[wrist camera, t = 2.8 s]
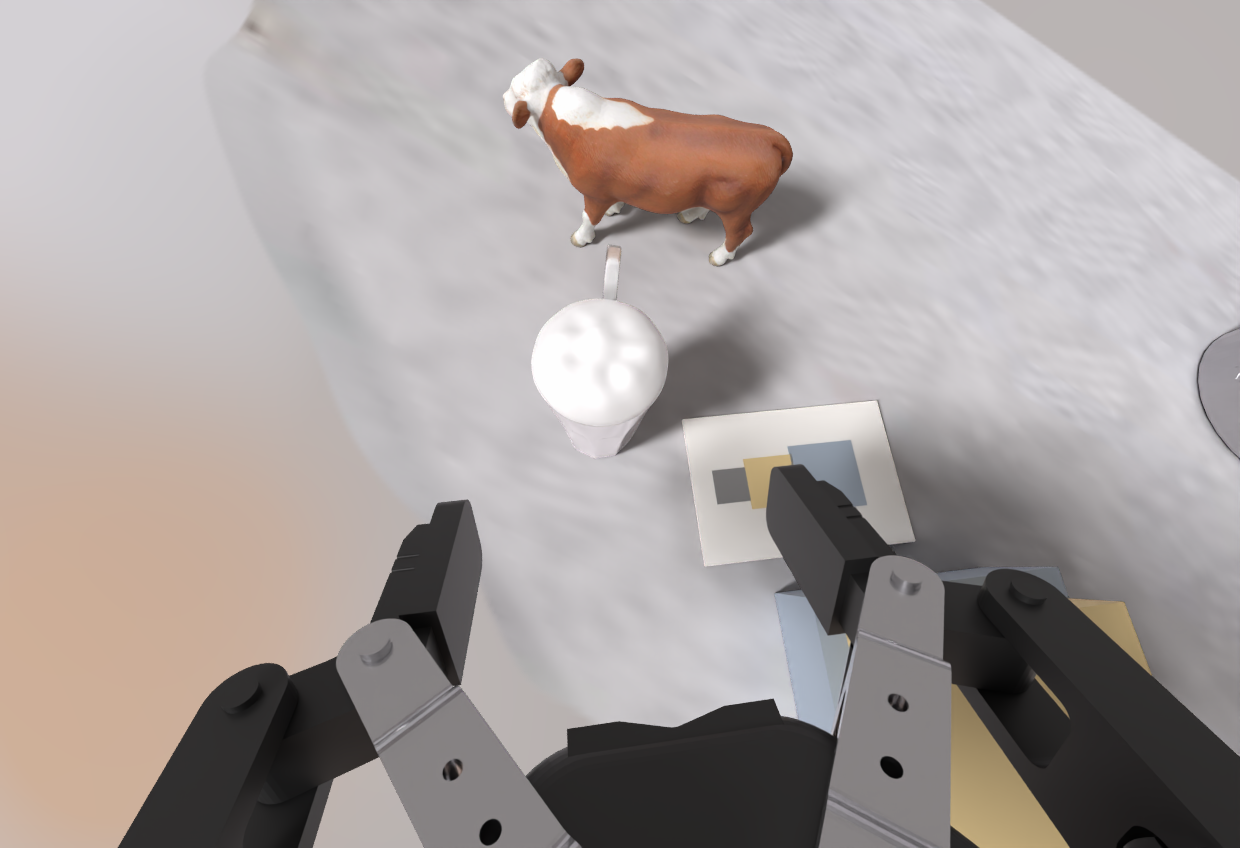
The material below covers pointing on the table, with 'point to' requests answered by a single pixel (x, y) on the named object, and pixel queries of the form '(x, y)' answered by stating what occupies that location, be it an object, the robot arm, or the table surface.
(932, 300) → the table surface
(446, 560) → the robot arm
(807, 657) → the tower base
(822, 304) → the table surface
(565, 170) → the bull figurine
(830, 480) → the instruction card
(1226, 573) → the table surface
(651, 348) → the milkshake
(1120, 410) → the table surface
